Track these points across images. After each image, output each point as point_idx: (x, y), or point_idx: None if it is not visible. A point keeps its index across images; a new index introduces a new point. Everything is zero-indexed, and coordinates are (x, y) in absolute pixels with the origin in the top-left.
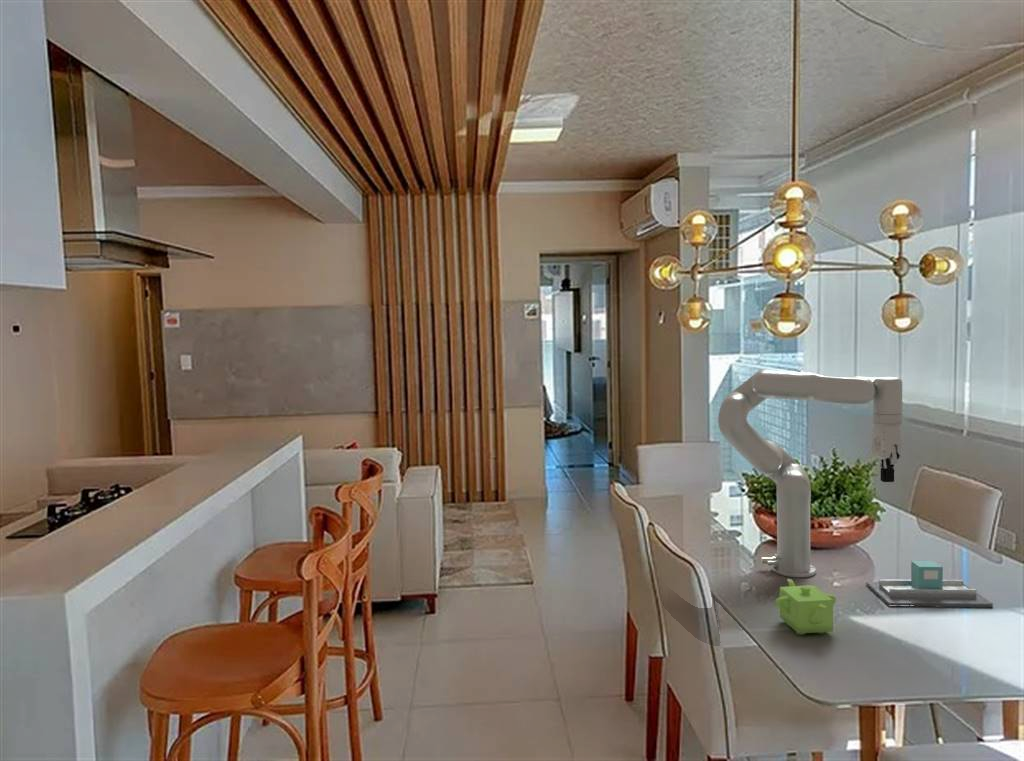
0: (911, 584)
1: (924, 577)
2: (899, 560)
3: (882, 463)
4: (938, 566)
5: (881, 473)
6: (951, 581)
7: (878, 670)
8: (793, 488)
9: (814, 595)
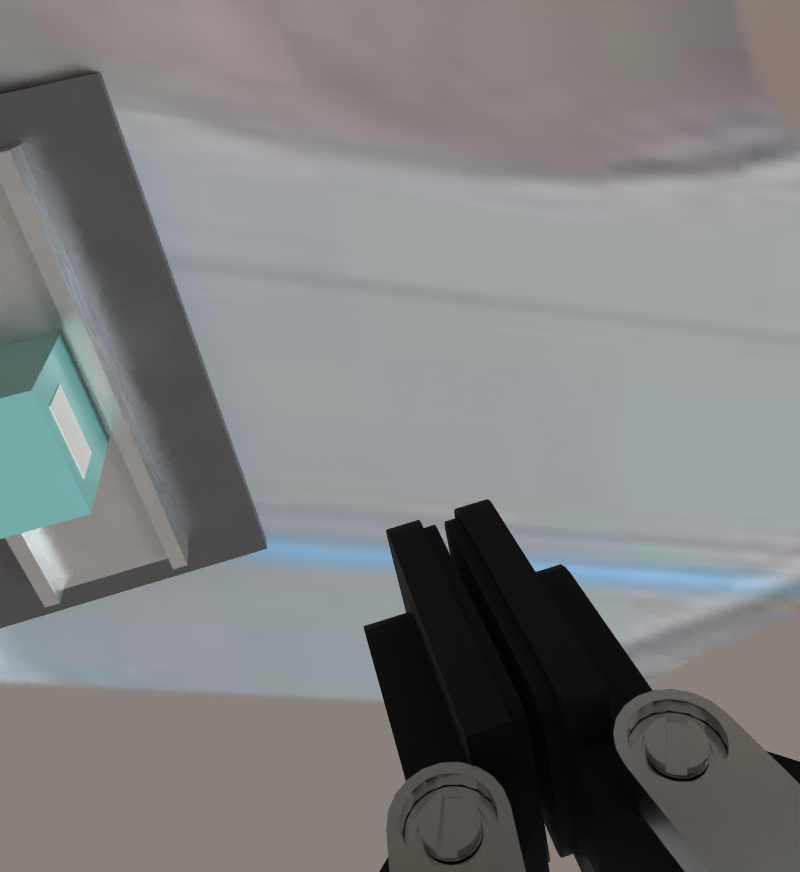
0: (56, 334)
1: None
2: (604, 325)
3: (662, 828)
4: None
5: (509, 603)
6: (153, 523)
7: None
8: None
9: None
